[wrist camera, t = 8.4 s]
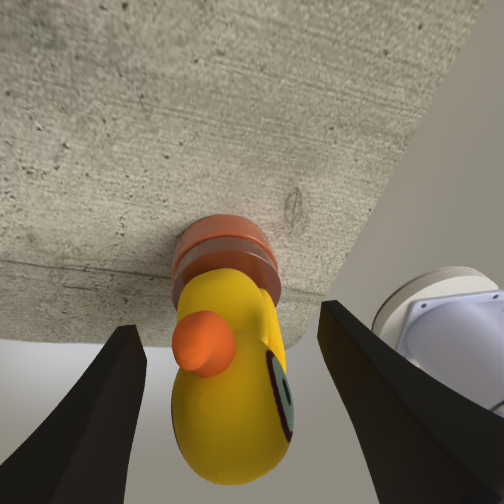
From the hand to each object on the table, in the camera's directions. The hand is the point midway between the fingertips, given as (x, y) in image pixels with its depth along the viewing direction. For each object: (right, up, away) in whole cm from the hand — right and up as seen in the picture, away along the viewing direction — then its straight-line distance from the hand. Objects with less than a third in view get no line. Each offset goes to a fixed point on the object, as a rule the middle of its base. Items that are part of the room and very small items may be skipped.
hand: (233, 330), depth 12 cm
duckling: (-1, 0, +7) cm, 7 cm away
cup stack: (-1, +3, +11) cm, 11 cm away
